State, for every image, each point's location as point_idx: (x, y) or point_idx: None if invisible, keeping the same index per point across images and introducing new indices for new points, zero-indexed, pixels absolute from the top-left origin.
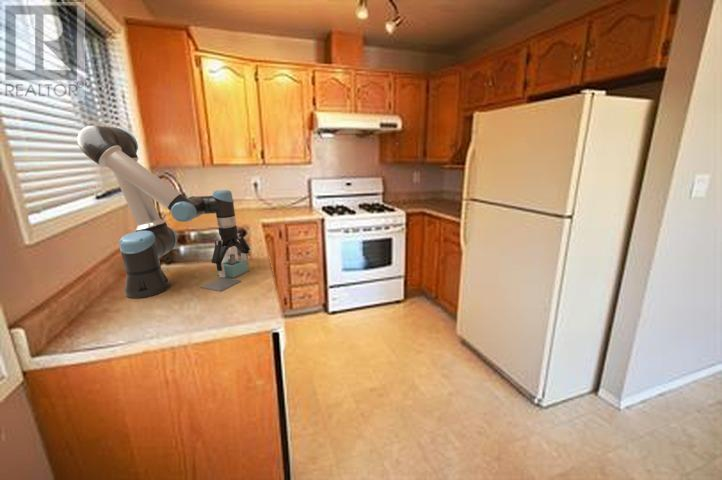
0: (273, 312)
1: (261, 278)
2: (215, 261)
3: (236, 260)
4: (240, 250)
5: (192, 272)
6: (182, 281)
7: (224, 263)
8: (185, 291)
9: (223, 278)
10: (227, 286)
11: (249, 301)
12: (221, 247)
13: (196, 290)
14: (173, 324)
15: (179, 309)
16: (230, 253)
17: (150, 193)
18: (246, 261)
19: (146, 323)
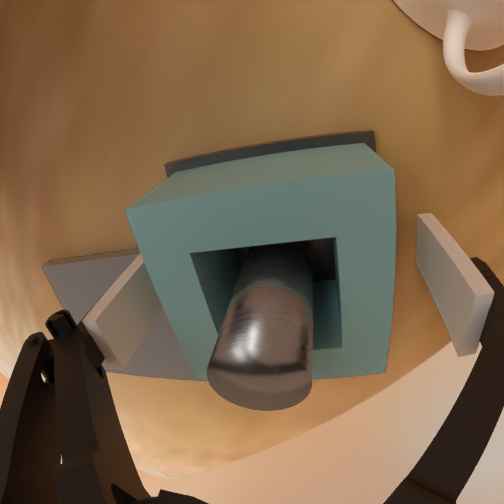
0: (172, 477)
1: (308, 409)
2: (48, 383)
3: (355, 287)
4: (482, 348)
5: None
6: (16, 64)
7: (202, 248)
8: (4, 224)
9: None
10: (135, 370)
11: (156, 444)
12: (68, 479)
13: (34, 259)
14: (9, 365)
15: (5, 329)
16: (501, 7)
17: None
18: (374, 369)
19: None
